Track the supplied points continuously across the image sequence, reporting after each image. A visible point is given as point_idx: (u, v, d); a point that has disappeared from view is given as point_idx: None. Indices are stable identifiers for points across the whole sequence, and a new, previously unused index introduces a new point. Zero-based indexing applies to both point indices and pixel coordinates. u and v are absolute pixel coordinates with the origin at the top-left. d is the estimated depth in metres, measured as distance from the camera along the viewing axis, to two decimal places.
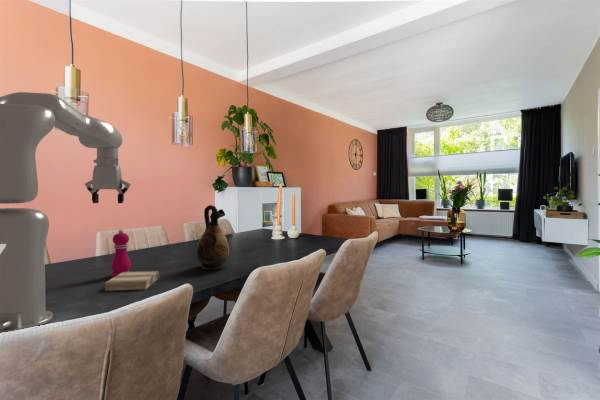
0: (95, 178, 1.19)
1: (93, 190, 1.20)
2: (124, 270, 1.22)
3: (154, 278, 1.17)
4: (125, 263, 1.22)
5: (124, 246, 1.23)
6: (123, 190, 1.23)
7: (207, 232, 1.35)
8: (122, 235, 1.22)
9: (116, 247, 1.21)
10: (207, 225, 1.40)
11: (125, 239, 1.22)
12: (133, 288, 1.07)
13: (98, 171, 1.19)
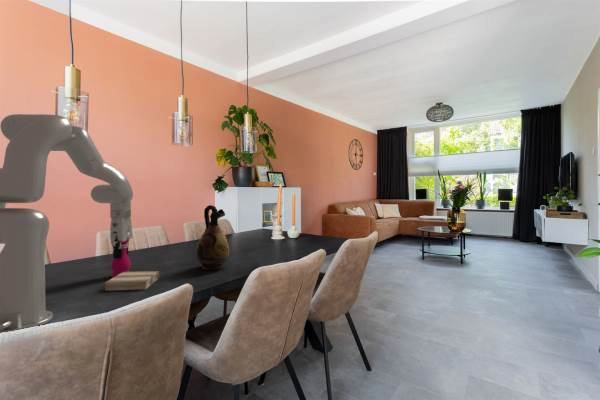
0: (123, 231, 1.21)
1: (120, 245, 1.21)
2: (124, 270, 1.22)
3: (154, 278, 1.17)
4: (125, 263, 1.22)
5: (124, 246, 1.23)
6: (127, 242, 1.28)
7: (207, 232, 1.35)
8: None
9: None
10: (207, 225, 1.40)
11: None
12: (133, 288, 1.07)
13: (125, 224, 1.22)
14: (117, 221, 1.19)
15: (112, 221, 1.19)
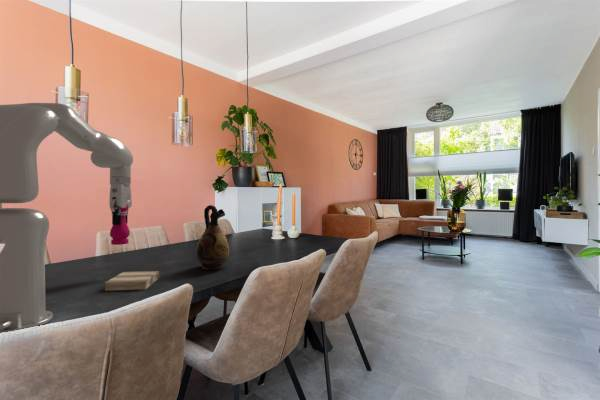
0: (123, 197, 1.20)
1: (119, 211, 1.20)
2: (123, 237, 1.21)
3: (154, 278, 1.17)
4: (124, 231, 1.21)
5: (123, 213, 1.22)
6: None
7: (207, 232, 1.35)
8: None
9: None
10: (207, 225, 1.40)
11: None
12: (133, 288, 1.07)
13: (124, 190, 1.21)
14: (117, 187, 1.18)
15: (111, 187, 1.18)
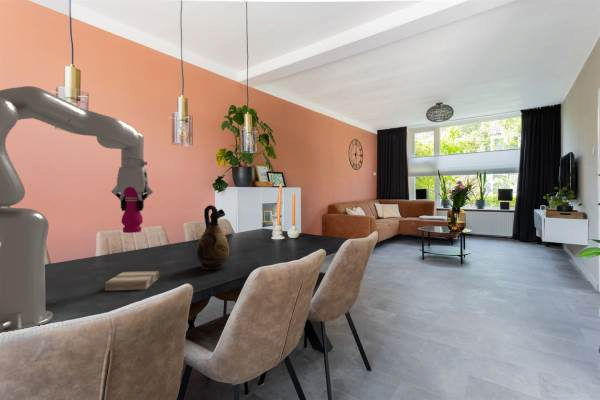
0: None
1: None
2: None
3: (154, 278, 1.17)
4: None
5: None
6: None
7: (207, 232, 1.35)
8: None
9: (137, 199, 1.13)
10: (207, 225, 1.40)
11: None
12: (133, 288, 1.07)
13: None
14: (145, 171, 1.14)
15: (143, 170, 1.12)
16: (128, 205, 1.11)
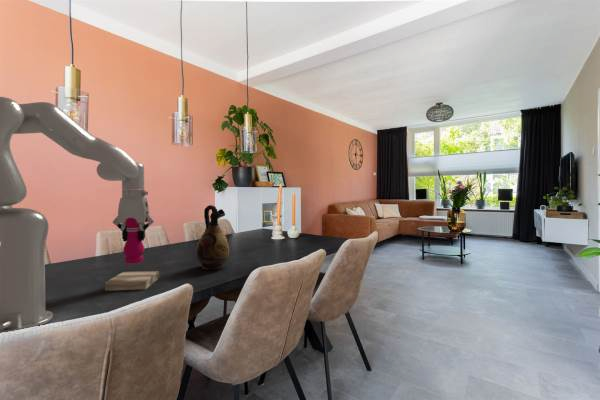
0: None
1: None
2: None
3: (154, 278, 1.17)
4: None
5: None
6: None
7: (207, 232, 1.35)
8: None
9: (139, 229, 1.13)
10: (207, 225, 1.40)
11: None
12: (133, 288, 1.07)
13: None
14: (146, 200, 1.14)
15: (144, 201, 1.12)
16: (129, 235, 1.11)
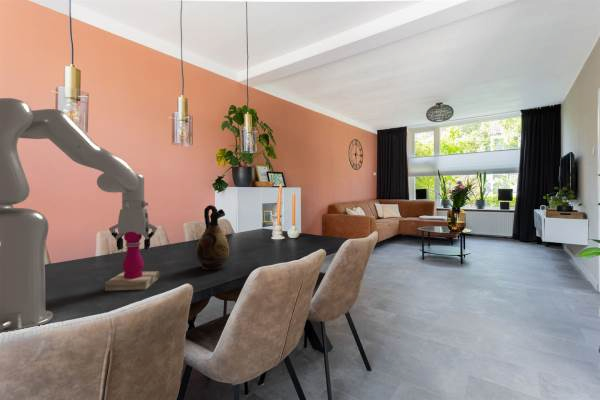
0: None
1: None
2: None
3: (154, 278, 1.17)
4: None
5: None
6: None
7: (207, 232, 1.35)
8: None
9: (138, 244, 1.12)
10: (207, 225, 1.40)
11: None
12: (133, 288, 1.07)
13: None
14: (146, 211, 1.14)
15: (144, 212, 1.12)
16: (129, 251, 1.11)
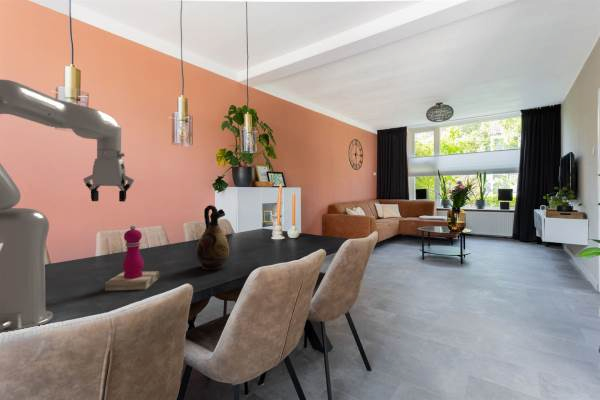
0: None
1: None
2: None
3: (154, 278, 1.17)
4: None
5: None
6: None
7: (207, 232, 1.35)
8: (139, 231, 1.14)
9: (138, 244, 1.12)
10: (207, 225, 1.40)
11: None
12: (133, 288, 1.07)
13: None
14: (123, 163, 1.10)
15: (119, 162, 1.08)
16: (129, 251, 1.11)
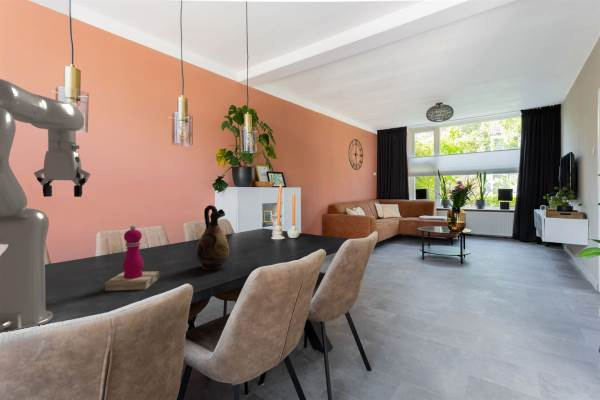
0: None
1: None
2: None
3: (154, 278, 1.17)
4: None
5: None
6: None
7: (207, 232, 1.35)
8: (139, 231, 1.14)
9: (138, 244, 1.12)
10: (207, 225, 1.40)
11: None
12: (133, 288, 1.07)
13: None
14: (78, 155, 1.03)
15: (73, 155, 1.01)
16: (129, 251, 1.11)
